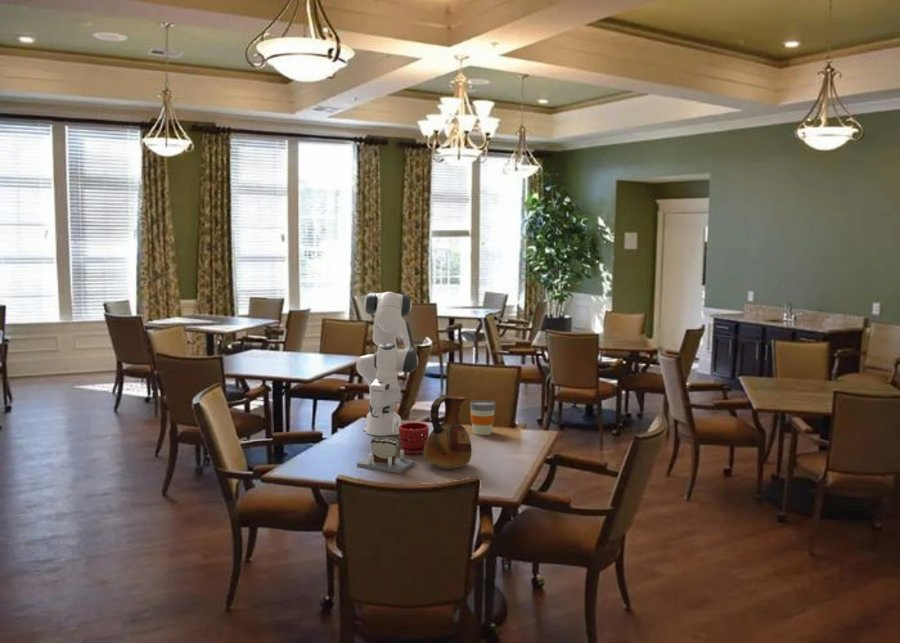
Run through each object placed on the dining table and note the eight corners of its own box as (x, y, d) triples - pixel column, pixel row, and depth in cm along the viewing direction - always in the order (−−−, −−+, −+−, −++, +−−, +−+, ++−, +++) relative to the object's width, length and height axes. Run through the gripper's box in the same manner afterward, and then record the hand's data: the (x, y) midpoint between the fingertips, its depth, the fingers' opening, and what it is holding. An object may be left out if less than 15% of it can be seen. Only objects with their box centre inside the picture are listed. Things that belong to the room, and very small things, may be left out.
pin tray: (373, 458, 334) (373, 445, 333) (415, 464, 326) (415, 451, 326) (357, 466, 321) (357, 453, 321) (400, 473, 313) (400, 459, 313)
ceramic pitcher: (480, 466, 325) (482, 396, 322) (446, 476, 311) (447, 402, 308) (448, 456, 339) (449, 389, 336) (413, 465, 325) (415, 394, 322)
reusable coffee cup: (466, 434, 378) (467, 404, 377) (473, 428, 390) (473, 399, 389) (491, 436, 375) (492, 406, 373) (497, 430, 387) (498, 401, 385)
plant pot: (409, 446, 354) (409, 420, 353) (433, 451, 348) (434, 424, 346) (392, 452, 343) (393, 426, 342) (417, 457, 336) (418, 430, 335)
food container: (403, 461, 324) (403, 438, 323) (397, 465, 318) (397, 441, 317) (376, 458, 328) (376, 435, 327) (370, 462, 323) (370, 438, 322)
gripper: (391, 378, 332) (390, 409, 333) (368, 386, 313) (367, 419, 315) (404, 379, 329) (404, 411, 331) (382, 387, 311) (381, 421, 312)
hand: (386, 415), depth 323 cm, fingers open, 8 cm apart
